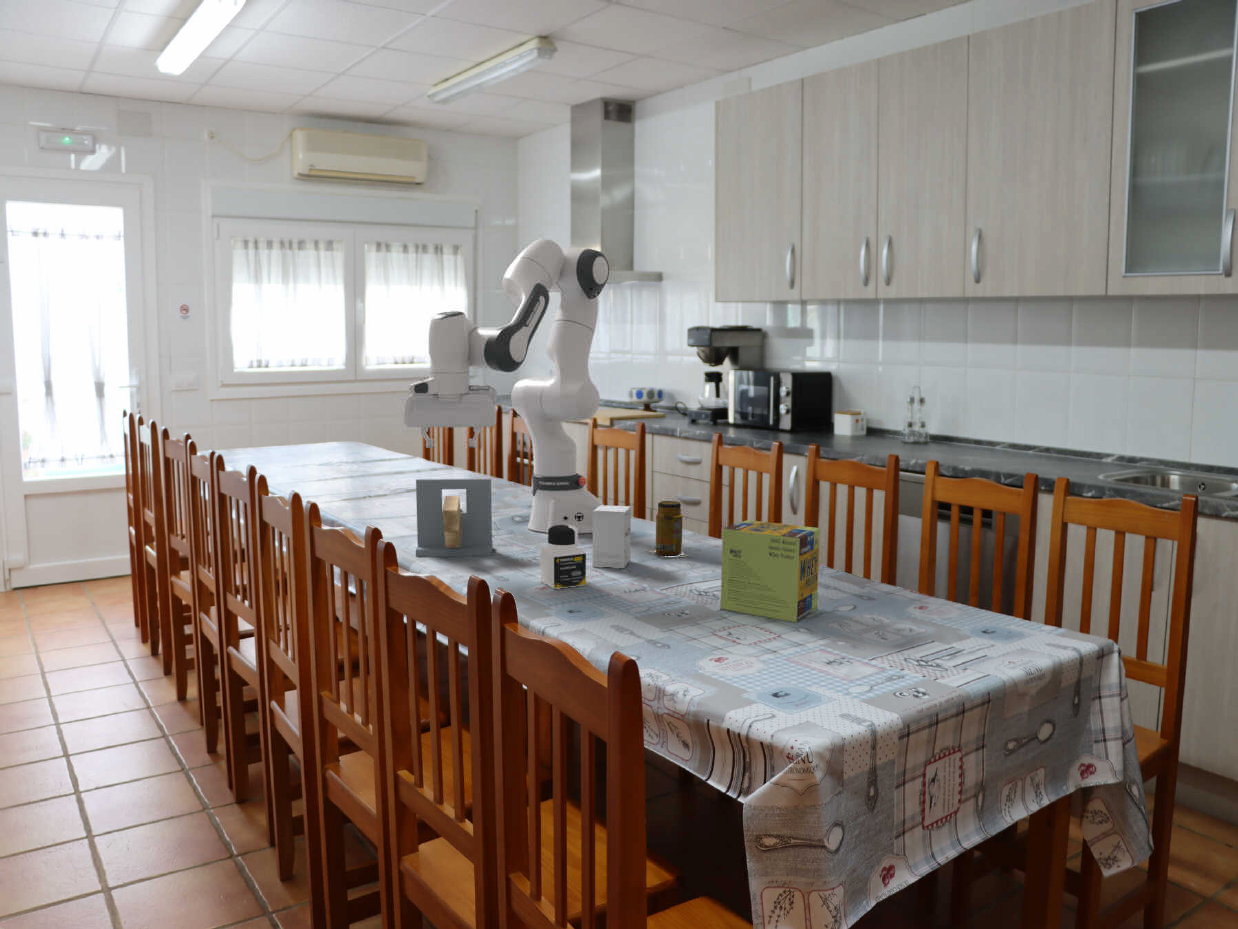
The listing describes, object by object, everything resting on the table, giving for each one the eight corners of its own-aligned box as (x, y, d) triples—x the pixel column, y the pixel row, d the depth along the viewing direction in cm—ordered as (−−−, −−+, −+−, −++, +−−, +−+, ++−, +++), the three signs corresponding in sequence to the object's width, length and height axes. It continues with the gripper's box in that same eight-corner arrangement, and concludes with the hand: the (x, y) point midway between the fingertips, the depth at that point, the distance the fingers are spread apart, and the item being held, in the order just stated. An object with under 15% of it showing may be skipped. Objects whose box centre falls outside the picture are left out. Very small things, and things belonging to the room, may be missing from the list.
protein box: (797, 623, 173) (800, 537, 171) (719, 609, 181) (721, 528, 179) (818, 609, 182) (821, 527, 180) (743, 596, 190) (745, 518, 188)
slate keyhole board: (492, 547, 231) (491, 476, 228) (491, 555, 223) (490, 481, 220) (420, 548, 229) (418, 476, 227) (415, 556, 221) (413, 482, 219)
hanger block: (464, 523, 228) (462, 486, 223) (461, 547, 220) (459, 510, 215) (447, 523, 228) (444, 487, 223) (443, 548, 219) (440, 510, 214)
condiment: (676, 549, 230) (677, 499, 228) (691, 557, 222) (692, 505, 220) (648, 551, 228) (648, 500, 226) (662, 559, 220) (662, 507, 218)
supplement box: (624, 569, 211) (625, 511, 209) (591, 567, 212) (591, 510, 210) (631, 561, 218) (631, 505, 216) (599, 559, 219) (599, 504, 217)
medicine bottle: (554, 590, 194) (553, 531, 192) (540, 582, 200) (539, 524, 198) (586, 586, 197) (586, 528, 195) (571, 578, 203) (571, 521, 201)
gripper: (497, 384, 220) (498, 445, 222) (405, 384, 219) (407, 445, 221) (496, 386, 214) (497, 448, 216) (401, 386, 212) (403, 449, 214)
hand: (451, 447), depth 218 cm, fingers open, 8 cm apart
